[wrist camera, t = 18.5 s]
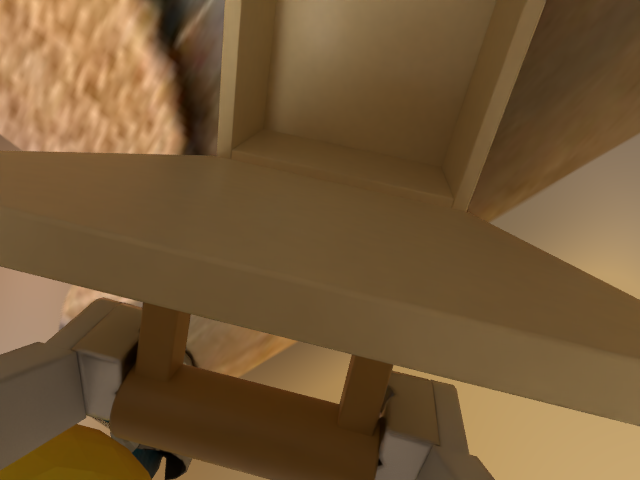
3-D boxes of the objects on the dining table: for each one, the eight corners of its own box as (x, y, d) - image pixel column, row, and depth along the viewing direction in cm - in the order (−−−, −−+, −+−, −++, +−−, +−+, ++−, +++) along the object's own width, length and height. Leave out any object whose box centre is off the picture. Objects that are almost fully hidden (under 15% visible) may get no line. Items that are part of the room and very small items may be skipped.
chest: (283, -167, 20) (237, -256, 14) (550, -122, 19) (622, -197, 13) (254, 135, 27) (216, 160, 21) (448, 177, 27) (464, 216, 21)
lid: (-265, 143, 5) (-229, 463, 6) (870, 414, 4) (679, 732, 5) (213, 155, 21) (200, 243, 22) (468, 212, 20) (442, 300, 21)
